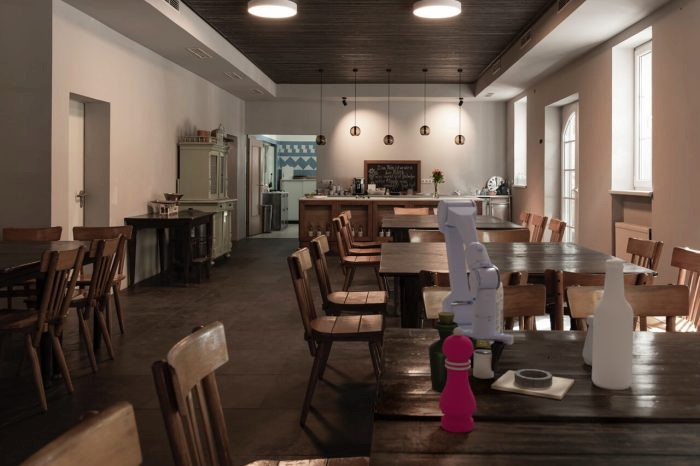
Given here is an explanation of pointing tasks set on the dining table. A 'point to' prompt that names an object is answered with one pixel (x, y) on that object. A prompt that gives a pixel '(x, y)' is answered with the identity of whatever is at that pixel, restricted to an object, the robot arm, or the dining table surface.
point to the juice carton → (498, 318)
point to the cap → (482, 364)
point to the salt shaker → (589, 342)
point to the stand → (533, 383)
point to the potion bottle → (440, 351)
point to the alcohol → (613, 333)
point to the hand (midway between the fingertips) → (483, 368)
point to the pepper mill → (457, 385)
